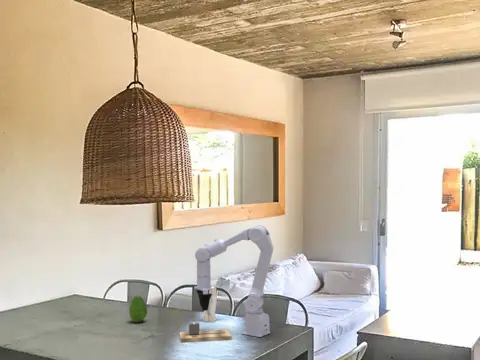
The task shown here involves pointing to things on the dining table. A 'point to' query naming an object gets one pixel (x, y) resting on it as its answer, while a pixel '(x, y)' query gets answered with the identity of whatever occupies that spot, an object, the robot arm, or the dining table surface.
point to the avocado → (137, 309)
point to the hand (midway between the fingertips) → (204, 308)
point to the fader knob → (193, 328)
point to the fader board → (205, 336)
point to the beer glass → (211, 306)
